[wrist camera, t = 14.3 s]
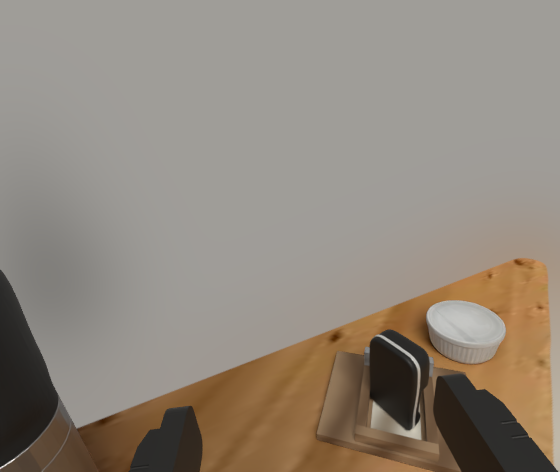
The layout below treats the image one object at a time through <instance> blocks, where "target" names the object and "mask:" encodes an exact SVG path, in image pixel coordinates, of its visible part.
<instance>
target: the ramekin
mask: <svg viewBox="0 0 560 472" xmlns="http://www.w3.org/2000/svg"><path fill="white" fill-rule="evenodd" d="M426 322H427V325H428V329H429V336H430V340H431V342H432V344H433V346H434V347H435V348H436V349H437V350H438V351H439V352H440V353H441V354H442V355H444V356H446V357H447V358H449V359H451V360H454V361H457V362H460V363H465V364H479V363H483V362H485V361H487V360H489V359H491V358H492V357H493V356H494V354H495V353H496V350H497V348H498V346H499V344H500V342H501V341H502V340H503V339H504V337H505V333H506V328H505V324H504V323H503V321H502V320H501V318H500V317H499V316H497V315H496V314H495V313H493V312H492V311H490V310H489V309H487V308H485V307H483V306H480V305H478V304H475V303H471V302H465V301H455V300H451V301H443V302H439V303H437V304H434V305H433V306H431V307H430V308H429V310H428V311H427V315H426Z"/></svg>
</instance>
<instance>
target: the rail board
mask: <svg viewBox="0 0 560 472" xmlns="http://www.w3.org/2000/svg"><path fill="white" fill-rule="evenodd" d="M369 352H370V347H365V352H364V355H359V354H353V353H347V352H341V351H337V355H336V359H335V363H334V367H333V371H332V375H331V379H330V383H329V387H328V391H327V395H326V399H325V403H324V407H323V411H322V415H321V418H320V422H319V426H318V430H317V440H320V441H323V442H327V443H331V444H335V445H338V446H342V447H346V448H350V449H353V450H357V451H361V452H364V453H368V454H372V455H376V456H379V457H383V458H387V459H390V460H394V461H398V462H402V463H405V464H409V465H413V466H416V467H420V468H424V469H428V470H431V471H435V472H461V470H460V468H459V466H458V464H457V462H456V461H455V459H454V457H453V455H452V453H451V451H450V450H449V448H448V446H447V444H446V442H445V440H444V438H443V437H442V435H441V433H440V431H439V429H438V427H437V424H436V422H435V418H434V414H433V404H434V395H435V387H436V379H437V377H438V376H443V375H451V374H459V373H462V374H464V375H465V376H466V374H465V372H460V371H454V370H448V369H442V368H436V367H433V366H434V361H433V357H429V359H430V371H429V381H428V385H427V387H426V388H425V389H423V390H422V392H421V398H420V404H419V413H420V420H419V422H418V424H417V425H416V426H415V428H413V429H411V430H409V431H408V430H406V429H405V428H404V427H403V426H402V425H400V424H399V423H398V422H397V421H396V420H395V419H394V418H392V417H391V416H390V415H389V414H388V413H387V412H386V411H385V410H383V409H382V408H381V407H380V406H379V405H378V404H377V403H376V402H375V401H374V400H373V399H371V397H370V367H369Z"/></svg>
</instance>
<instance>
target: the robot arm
mask: <svg viewBox="0 0 560 472" xmlns="http://www.w3.org/2000/svg"><path fill="white" fill-rule="evenodd" d="M433 414H434V418H435V422H436V424H437V427H438V429H439V431H440V433H441V435H442V437H443V438H444V440H445V442H446V444H447V446H448V448H449V450H450V451H451V453H452V455H453V457H454V459H455V461H456V462H457V464H458V466H459V468H460V470H461V472H558V471H557V470H556V468H555V467H554V466H553V465H552V463H551V462H550V461H549V460H548V458H547V457H546V456H545V455H544V453H543V452H542V451H541V450H540V448H539V447H538V446H537V445H536V443H535V442H534V441H533V440H532V438H529V436H528V433H527V432H526V431H525V430H524V428H523V427H522V426H521V425H520V423H517V421H516V418H515V417H514V416H513V415H512V413H511V412H510V411H509V410H508V408H507V407H506V406H505V405H504V403H503V402H501V401H500V400H499V399H497V398H496V397H495V396H493V395H492V394H491V393H489V392H488V391H487V390H485V389H483V390H476V388H475V387H474V386H473V384H472V383H471V382H470V380H469V379H468V378H467V377H466V376H465V375H464V374H462V373H459V374H451V375H443V376H438V377H437V379H436V387H435V395H434V404H433ZM201 460H202V437H201V433H200V430H199V427H198V423H197V420H196V417H195V413H194V410H193V408H192V406H186V407H178V408H170V409H167V410H166V412H165V414H164V417H163V421H162V424H161V427H160V429H154V430H150V431H149V432H148V433H147V435H146V436H145V437H144V439H143V440H142V442H141V443H140V444H139V446H138V447H137V450H136V453H135V455H134V458H133V461H132V464H131V469H130V471H129V472H200V466H201ZM0 472H99V471H98V469H97V467H96V465H95V463H94V461H93V459H92V457H91V455H90V454H89V452H88V450H87V448H86V446H85V444H84V442H83V440H82V438H81V436H80V435H79V433H78V431H77V429H76V427H75V425H74V423H73V421H72V419H71V418H70V416H69V414H68V412H67V411H66V409H65V407H64V405H63V403H62V401H61V399H60V397H59V395H58V393H57V392H56V390H55V388H54V386H53V384H52V381H51V379H50V376H49V372H48V369H47V366H46V364H45V361H44V359H43V356H42V354H41V352H40V350H39V348H38V346H37V344H36V342H35V340H34V337H33V335H32V333H31V331H30V328H29V326H28V324H27V321H26V319H25V316H24V314H23V311H22V309H21V307H20V304H19V302H18V299H17V297H16V295H15V293H14V291H13V288H12V286H11V285H10V283H9V281H8V280H7V278H6V276H5V275H4V273H3V272H2V271H1V270H0Z"/></svg>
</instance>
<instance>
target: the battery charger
mask: <svg viewBox="0 0 560 472" xmlns="http://www.w3.org/2000/svg"><path fill="white" fill-rule="evenodd" d="M369 367H370V397H371V399H373V400H374V401H375V402H376V403H377V404H378V405H379V406H380V407H381V408H382V409H383V410H385V411H386V412H387V413H388V414H389V415H390V416H391V417H392V418H394V419H395V420H396V421H397V422H398V423H399V424H400V425H402V426H403V427H404V428H405V429H406V430H408V431H409V430H411V429H413V428H415V426H416V425H417V424H418V422H419V420H420V413H419V404H420V398H421V392H422V390H423V389H425V388H426V387H427V385H428V381H429V371H430V359H429V356H428V354H427V352H426V351H425V350H424V349H423V348H421V347H420V346H418V345H417V344H415V343H414V342H412V341H411V340H409V339H408V338H406V337H404V336H403V335H401V334H399V333H398V332H396V331H394V330H386V331H384V332H382V333H381V334H379V335H376V336H374V337H373V339H372V340H371V342H370V352H369Z"/></svg>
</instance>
